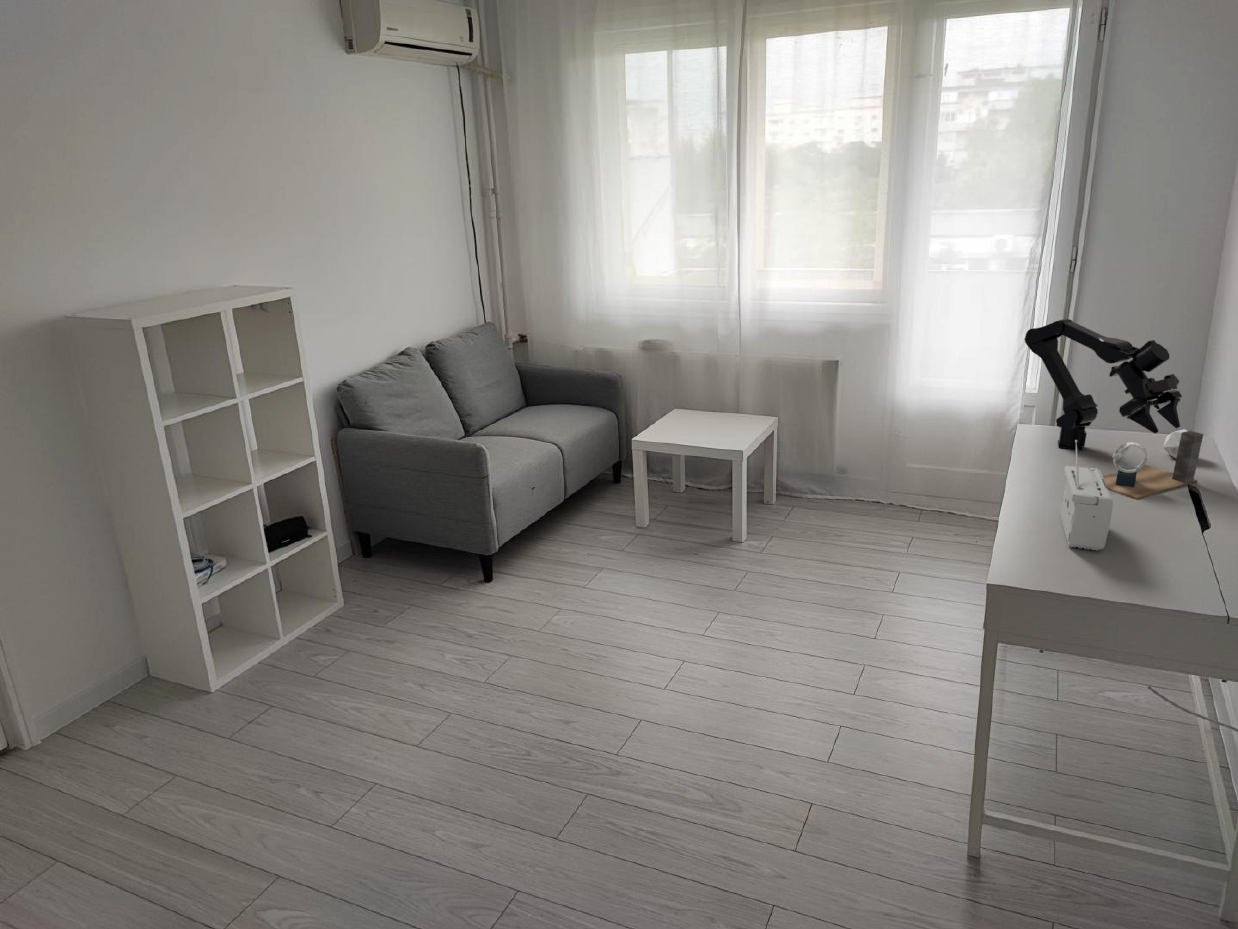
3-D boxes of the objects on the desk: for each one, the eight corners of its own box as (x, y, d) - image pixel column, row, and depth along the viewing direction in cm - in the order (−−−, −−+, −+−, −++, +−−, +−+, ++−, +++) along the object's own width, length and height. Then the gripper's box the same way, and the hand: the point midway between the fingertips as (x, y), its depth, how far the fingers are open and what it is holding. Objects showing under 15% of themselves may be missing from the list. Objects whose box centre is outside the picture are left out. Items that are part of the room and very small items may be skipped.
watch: (1108, 476, 240) (1115, 438, 236) (1142, 482, 236) (1150, 442, 232) (1107, 483, 235) (1114, 444, 232) (1141, 488, 231) (1149, 448, 228)
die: (1157, 460, 255) (1183, 440, 247) (1154, 438, 260) (1178, 418, 253) (1183, 470, 255) (1209, 450, 248) (1179, 448, 261) (1204, 428, 253)
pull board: (1086, 482, 238) (1095, 433, 233) (1146, 466, 249) (1155, 420, 244) (1136, 499, 226) (1146, 448, 222) (1196, 482, 237) (1207, 433, 232)
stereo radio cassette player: (1105, 554, 197) (1121, 469, 190) (1064, 549, 199) (1078, 465, 193) (1093, 518, 215) (1107, 440, 208) (1055, 514, 218) (1068, 437, 211)
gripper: (1137, 369, 233) (1170, 420, 228) (1181, 360, 241) (1214, 409, 236) (1105, 391, 243) (1136, 441, 237) (1148, 382, 250) (1179, 430, 245)
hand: (1167, 430), depth 238 cm, fingers open, 9 cm apart
